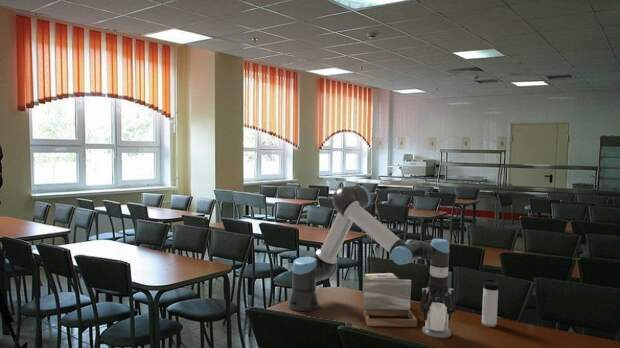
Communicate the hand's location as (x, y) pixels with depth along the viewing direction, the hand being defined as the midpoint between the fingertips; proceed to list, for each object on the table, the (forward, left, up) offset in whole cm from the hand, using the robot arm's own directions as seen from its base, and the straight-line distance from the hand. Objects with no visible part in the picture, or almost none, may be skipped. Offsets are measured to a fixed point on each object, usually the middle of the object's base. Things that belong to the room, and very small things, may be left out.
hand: (436, 327), depth 201 cm
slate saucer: (0, 0, -2) cm, 2 cm away
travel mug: (-10, +27, -2) cm, 29 cm away
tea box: (-35, -18, -2) cm, 39 cm away
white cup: (0, 0, 0) cm, 0 cm away
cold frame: (-13, -18, -2) cm, 22 cm away
